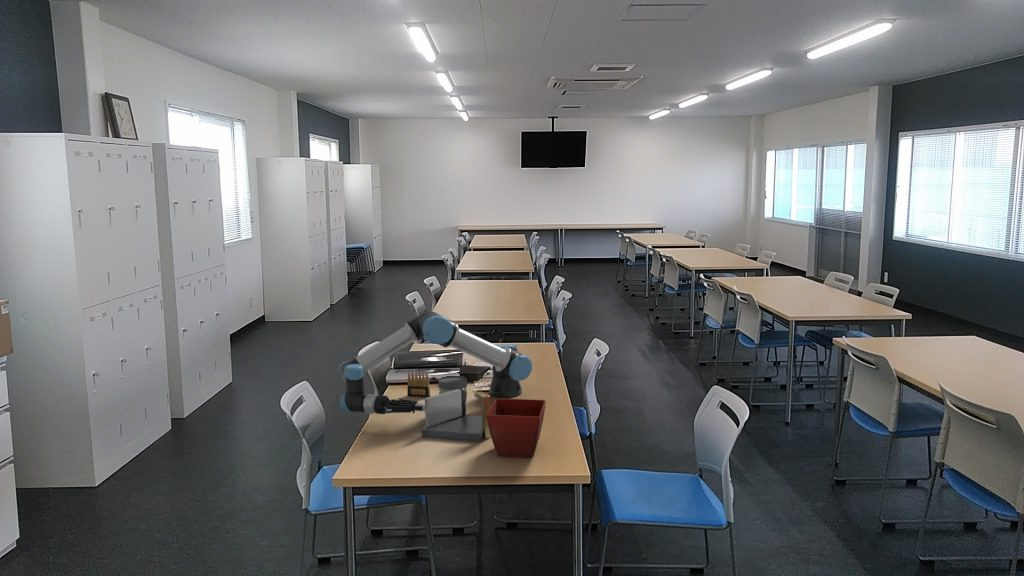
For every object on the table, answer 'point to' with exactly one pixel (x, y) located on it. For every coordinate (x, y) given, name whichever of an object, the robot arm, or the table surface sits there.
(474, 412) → the table surface
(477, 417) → the dark grey flat slab
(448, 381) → the reusable coffee cup
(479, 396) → the wooden l-shaped post
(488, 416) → the plant pot
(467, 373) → the diary
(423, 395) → the ammunition clip
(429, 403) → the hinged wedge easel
